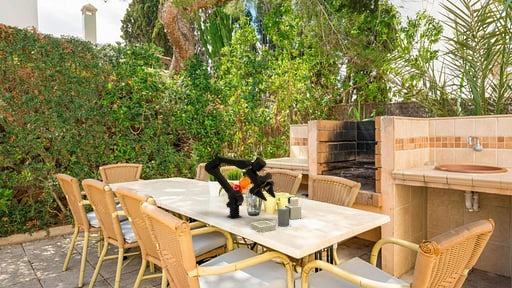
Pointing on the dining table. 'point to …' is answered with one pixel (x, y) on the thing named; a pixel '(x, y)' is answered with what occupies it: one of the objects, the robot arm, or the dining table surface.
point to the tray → (263, 226)
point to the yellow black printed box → (293, 208)
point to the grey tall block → (283, 216)
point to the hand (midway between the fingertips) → (270, 199)
